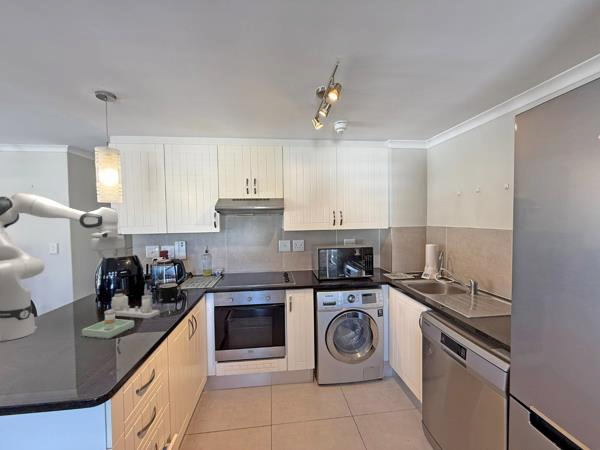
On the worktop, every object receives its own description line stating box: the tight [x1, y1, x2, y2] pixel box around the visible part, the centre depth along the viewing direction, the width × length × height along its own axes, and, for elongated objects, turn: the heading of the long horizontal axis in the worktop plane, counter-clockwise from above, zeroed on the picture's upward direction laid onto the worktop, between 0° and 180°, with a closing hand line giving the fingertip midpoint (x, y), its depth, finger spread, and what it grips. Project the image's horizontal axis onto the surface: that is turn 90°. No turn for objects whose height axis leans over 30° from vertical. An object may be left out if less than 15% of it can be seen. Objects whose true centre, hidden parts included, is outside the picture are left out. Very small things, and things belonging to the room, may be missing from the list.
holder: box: [106, 305, 160, 319], centre depth 171 cm, size 32×9×5 cm, turn 79°
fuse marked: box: [104, 309, 116, 331], centre depth 144 cm, size 5×5×10 cm
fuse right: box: [141, 294, 151, 313], centre depth 169 cm, size 5×5×10 cm
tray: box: [81, 318, 135, 340], centre depth 144 cm, size 16×16×4 cm
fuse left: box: [113, 293, 123, 311], centre depth 173 cm, size 5×5×10 cm
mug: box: [154, 283, 182, 304], centre depth 199 cm, size 16×16×12 cm
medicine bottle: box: [111, 288, 129, 309], centre depth 185 cm, size 7×7×12 cm
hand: (109, 257), depth 162 cm, fingers open, 8 cm apart
